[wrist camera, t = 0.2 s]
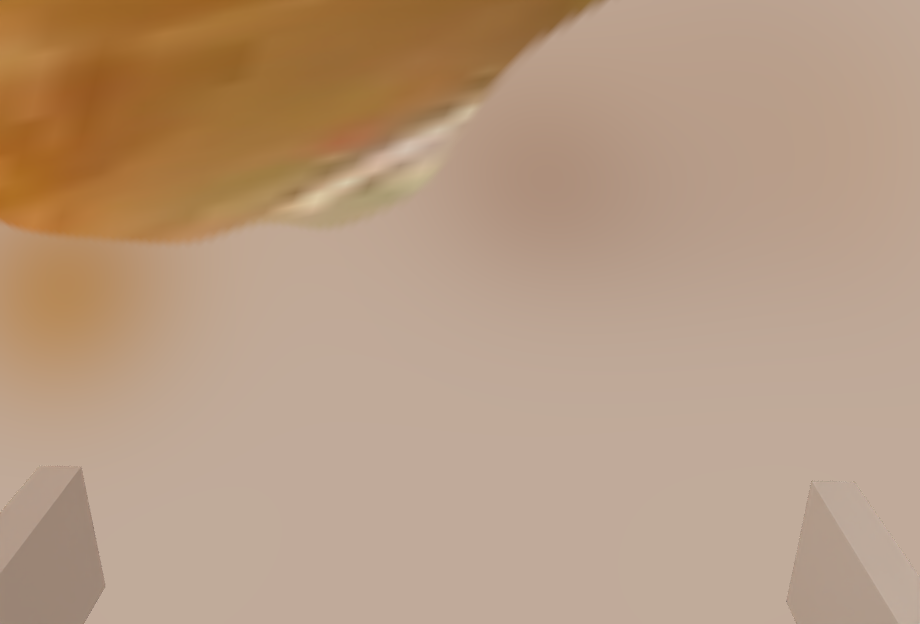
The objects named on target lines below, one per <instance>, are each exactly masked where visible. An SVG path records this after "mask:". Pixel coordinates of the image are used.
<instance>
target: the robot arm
mask: <svg viewBox="0 0 920 624" xmlns="http://www.w3.org/2000/svg"><path fill="white" fill-rule="evenodd" d="M104 588H105V581H104V576H103V571H102V566H101V561H100V557H99V551H98V547H97V542H96V537H95V532H94V527H93V522H92V517H91V512H90V508H89V503H88V497H87V493H86V488H85V483H84V478H83V473H82V468H81V467H72V466H71V467H70V466H39V467H38V468H37V469H36V471H35V472H34V473H33V474H32V475H31V476H30V478H29V479H28V480H27V481H26V482H25V484H24V485H23V486H22V487H21V488H20V490H19V491H18V492H17V493H16V494H15V495H14V497H13V498H12V499H11V500H10V501H9V503H8V504H7V505H6V506H5V507H4V509H3V510H2V511H1V512H0V624H84V623H85V621H86V619H87V618H88V616H89V614H90V612H91V611H92V609H93V607H94V605H95V604H96V602H97V600H98V599H99V597H100V595H101V593H102V592H103V590H104ZM786 602H787V604H788V606H789V608H790V610H791V613H792V615H793V617H794V619H795V621H796V624H920V576H919V574H918V573H917V572H916V570H915V569H914V567H913V566H912V564H911V563H910V561H909V560H908V559H907V557H906V556H905V554H904V553H903V551H902V550H901V548H900V547H899V545H898V544H897V543H896V541H895V540H894V538H893V537H892V535H891V534H890V533H889V531H888V530H887V528H886V527H885V525H884V524H883V522H882V521H881V520H880V518H879V517H878V515H877V514H876V512H875V511H874V509H873V508H872V506H871V505H870V504H869V502H868V501H867V499H866V498H865V496H864V495H863V493H862V492H861V490H860V489H859V487H858V486H857V485H856V483H855V482H829V481H811V486H810V490H809V495H808V500H807V505H806V510H805V514H804V520H803V524H802V529H801V534H800V538H799V543H798V548H797V553H796V558H795V563H794V567H793V572H792V577H791V582H790V586H789V591H788V596H787V601H786Z"/></svg>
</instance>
